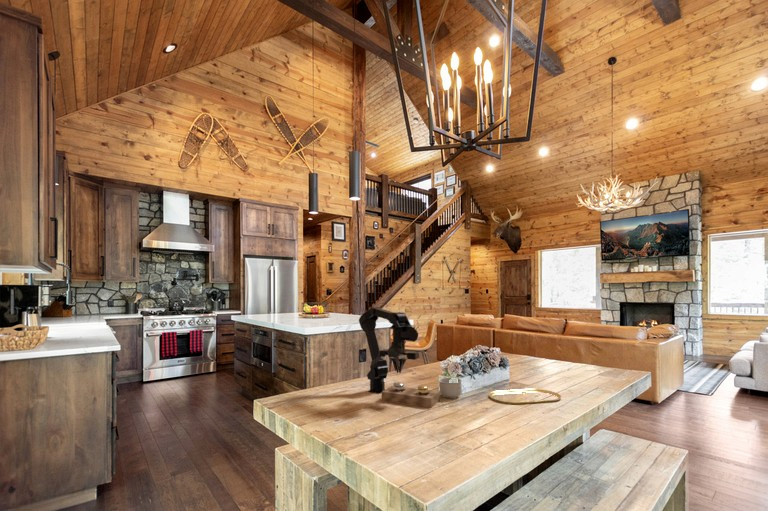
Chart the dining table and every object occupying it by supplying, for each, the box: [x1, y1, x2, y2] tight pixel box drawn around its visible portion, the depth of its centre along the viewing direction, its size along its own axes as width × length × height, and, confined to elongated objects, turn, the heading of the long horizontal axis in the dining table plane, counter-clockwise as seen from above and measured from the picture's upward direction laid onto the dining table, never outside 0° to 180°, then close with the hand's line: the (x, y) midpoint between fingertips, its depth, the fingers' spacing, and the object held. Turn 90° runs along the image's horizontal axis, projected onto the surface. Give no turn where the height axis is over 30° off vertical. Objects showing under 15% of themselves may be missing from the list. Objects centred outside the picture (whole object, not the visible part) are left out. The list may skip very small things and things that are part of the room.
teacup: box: [438, 376, 463, 399], centre depth 186 cm, size 14×11×8 cm
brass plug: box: [417, 384, 429, 395], centre depth 175 cm, size 5×5×3 cm
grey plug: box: [393, 382, 405, 392], centre depth 181 cm, size 5×5×3 cm
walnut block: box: [381, 385, 441, 409], centre depth 178 cm, size 24×12×4 cm, turn 64°
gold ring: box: [488, 388, 562, 405], centre depth 183 cm, size 19×35×2 cm, turn 103°
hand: (398, 372), depth 181 cm, fingers closed
